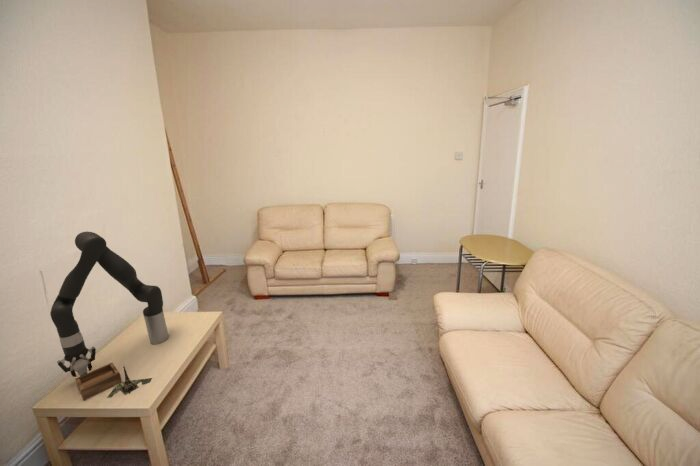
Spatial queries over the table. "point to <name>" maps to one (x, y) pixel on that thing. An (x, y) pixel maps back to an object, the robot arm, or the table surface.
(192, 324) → the table surface
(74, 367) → the lightbulb
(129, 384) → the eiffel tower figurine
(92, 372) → the wooden tray
